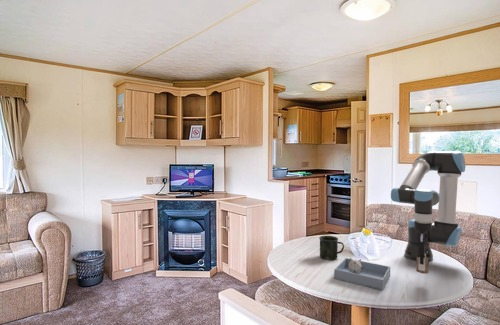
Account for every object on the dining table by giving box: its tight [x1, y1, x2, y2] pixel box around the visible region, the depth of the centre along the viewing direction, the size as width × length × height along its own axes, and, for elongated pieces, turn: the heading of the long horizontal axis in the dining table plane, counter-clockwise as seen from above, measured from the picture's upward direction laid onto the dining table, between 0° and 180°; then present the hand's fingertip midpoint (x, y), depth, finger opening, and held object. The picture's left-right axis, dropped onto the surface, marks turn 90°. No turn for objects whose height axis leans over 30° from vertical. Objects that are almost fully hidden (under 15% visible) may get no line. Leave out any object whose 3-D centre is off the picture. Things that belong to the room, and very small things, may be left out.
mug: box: [318, 235, 345, 261], centre depth 187 cm, size 11×15×12 cm
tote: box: [333, 257, 391, 291], centre depth 159 cm, size 19×23×5 cm
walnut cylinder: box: [415, 257, 429, 275], centre depth 151 cm, size 5×5×7 cm
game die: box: [347, 257, 364, 274], centre depth 161 cm, size 9×8×10 cm
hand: (422, 268), depth 151 cm, fingers closed on walnut cylinder, 5 cm apart
